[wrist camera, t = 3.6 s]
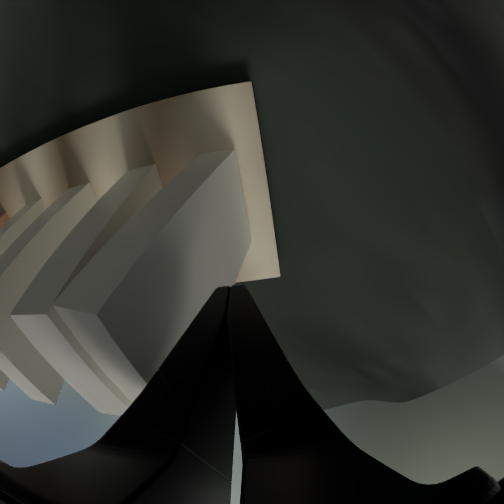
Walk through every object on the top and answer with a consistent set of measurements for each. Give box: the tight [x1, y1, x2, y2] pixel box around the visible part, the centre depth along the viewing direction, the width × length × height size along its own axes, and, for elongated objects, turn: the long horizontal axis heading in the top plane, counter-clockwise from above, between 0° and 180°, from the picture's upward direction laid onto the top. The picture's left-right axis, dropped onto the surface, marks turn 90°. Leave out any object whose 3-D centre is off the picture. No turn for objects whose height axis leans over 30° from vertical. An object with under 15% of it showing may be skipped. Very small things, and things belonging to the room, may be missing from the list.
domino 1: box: [0, 199, 46, 391], centre depth 11 cm, size 2×5×10 cm, turn 9°
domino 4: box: [52, 149, 252, 403], centre depth 11 cm, size 2×5×10 cm, turn 8°
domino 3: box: [10, 164, 163, 415], centre depth 11 cm, size 2×5×10 cm, turn 9°
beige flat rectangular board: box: [0, 81, 280, 283], centre depth 16 cm, size 22×11×1 cm, turn 99°
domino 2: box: [0, 182, 97, 405], centre depth 11 cm, size 2×5×10 cm, turn 9°
